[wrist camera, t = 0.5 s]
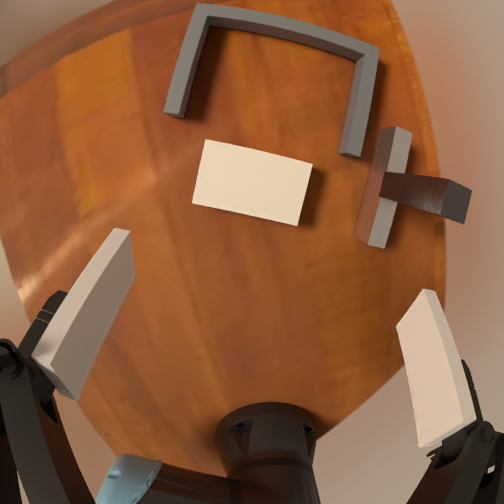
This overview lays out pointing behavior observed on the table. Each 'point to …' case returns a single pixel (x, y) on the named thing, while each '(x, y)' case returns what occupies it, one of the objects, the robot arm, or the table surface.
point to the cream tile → (251, 182)
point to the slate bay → (290, 31)
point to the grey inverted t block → (403, 190)
